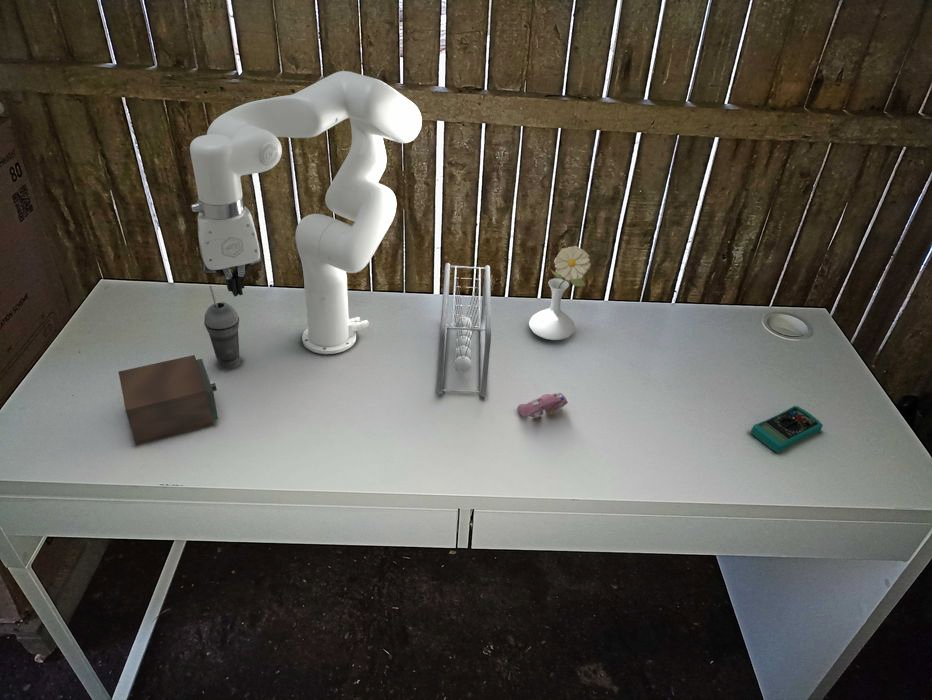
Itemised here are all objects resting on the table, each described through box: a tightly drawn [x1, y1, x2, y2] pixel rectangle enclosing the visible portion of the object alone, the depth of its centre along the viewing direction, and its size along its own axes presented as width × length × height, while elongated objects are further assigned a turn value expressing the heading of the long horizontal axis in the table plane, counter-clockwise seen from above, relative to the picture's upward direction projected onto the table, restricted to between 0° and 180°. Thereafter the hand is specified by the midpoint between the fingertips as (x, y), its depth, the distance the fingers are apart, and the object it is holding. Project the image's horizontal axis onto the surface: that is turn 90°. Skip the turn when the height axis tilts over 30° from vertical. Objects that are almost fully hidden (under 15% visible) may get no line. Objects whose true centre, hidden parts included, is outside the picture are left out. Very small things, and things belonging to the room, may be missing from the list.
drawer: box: [196, 358, 219, 421], centre depth 145 cm, size 15×11×7 cm
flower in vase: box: [528, 245, 591, 341], centre depth 171 cm, size 13×11×25 cm
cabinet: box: [118, 354, 214, 446], centre depth 144 cm, size 15×13×9 cm
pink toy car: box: [517, 392, 569, 419], centre depth 152 cm, size 10×5×7 cm, turn 117°
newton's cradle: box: [436, 262, 492, 398], centre depth 163 cm, size 30×10×18 cm, turn 179°
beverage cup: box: [203, 285, 241, 370], centre depth 155 cm, size 7×7×20 cm
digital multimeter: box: [750, 405, 824, 454], centre depth 152 cm, size 7×15×3 cm, turn 122°
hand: (236, 292), depth 140 cm, fingers closed
